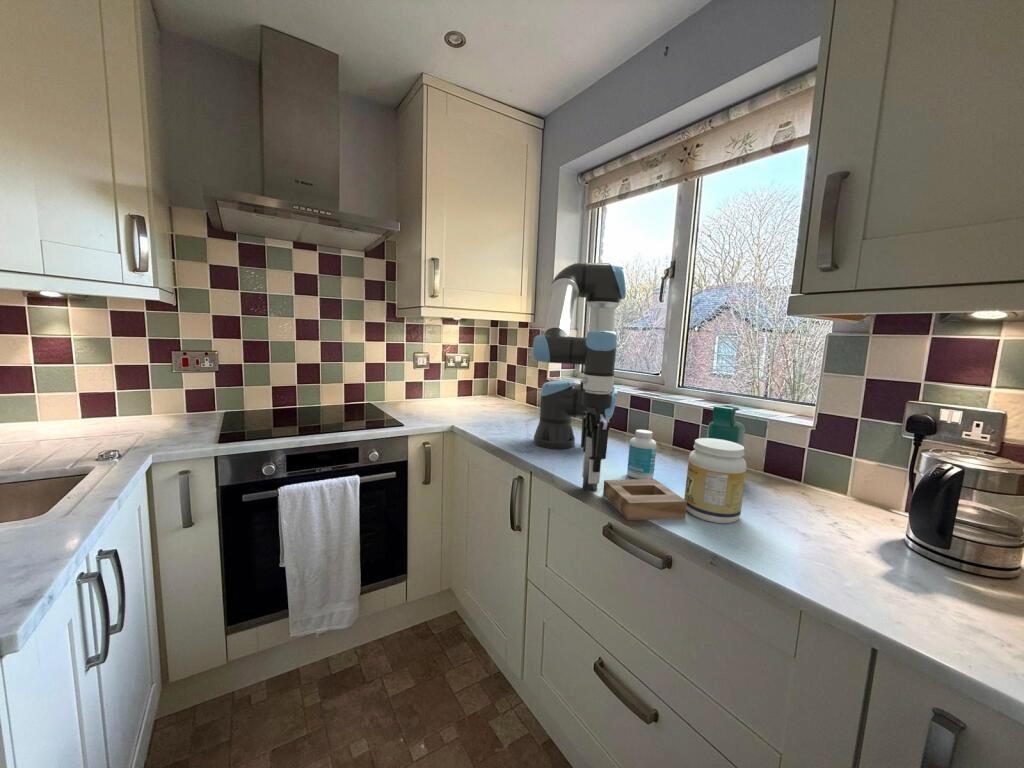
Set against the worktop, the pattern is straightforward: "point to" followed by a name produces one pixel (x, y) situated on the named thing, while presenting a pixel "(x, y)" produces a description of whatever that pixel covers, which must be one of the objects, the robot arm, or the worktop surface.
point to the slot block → (644, 499)
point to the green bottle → (726, 425)
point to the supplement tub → (715, 480)
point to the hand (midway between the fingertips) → (590, 479)
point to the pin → (588, 454)
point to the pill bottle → (642, 455)
